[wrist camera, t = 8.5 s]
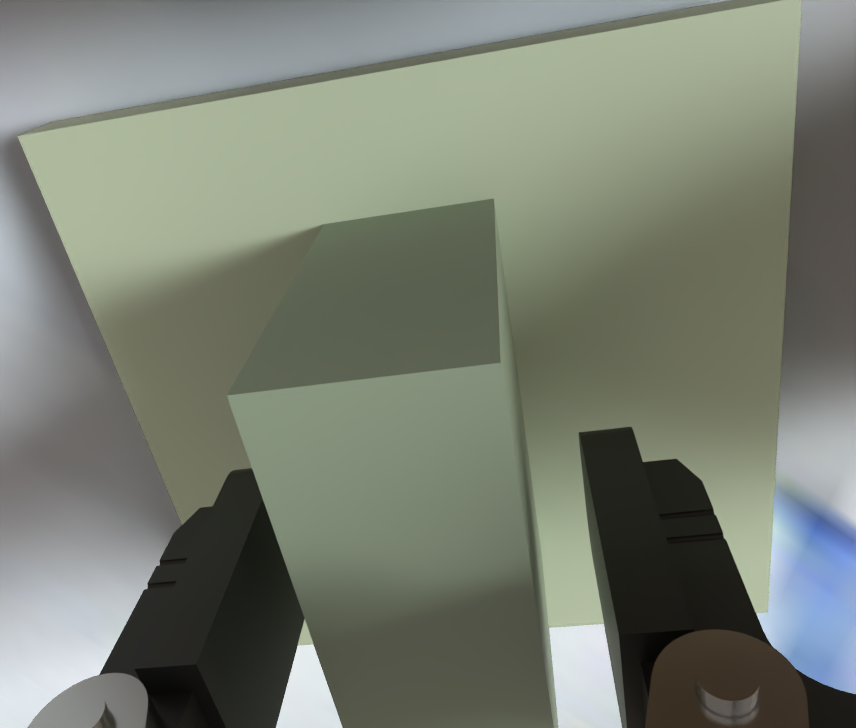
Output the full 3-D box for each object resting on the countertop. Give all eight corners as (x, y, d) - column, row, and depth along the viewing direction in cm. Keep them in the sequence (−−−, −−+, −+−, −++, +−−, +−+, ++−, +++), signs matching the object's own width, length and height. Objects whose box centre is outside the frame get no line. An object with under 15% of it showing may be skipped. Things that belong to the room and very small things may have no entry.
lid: (80, 109, 13) (-283, 260, 7) (753, -12, 11) (1065, 41, 5) (258, 581, 18) (143, 907, 12) (738, 541, 17) (886, 891, 10)
